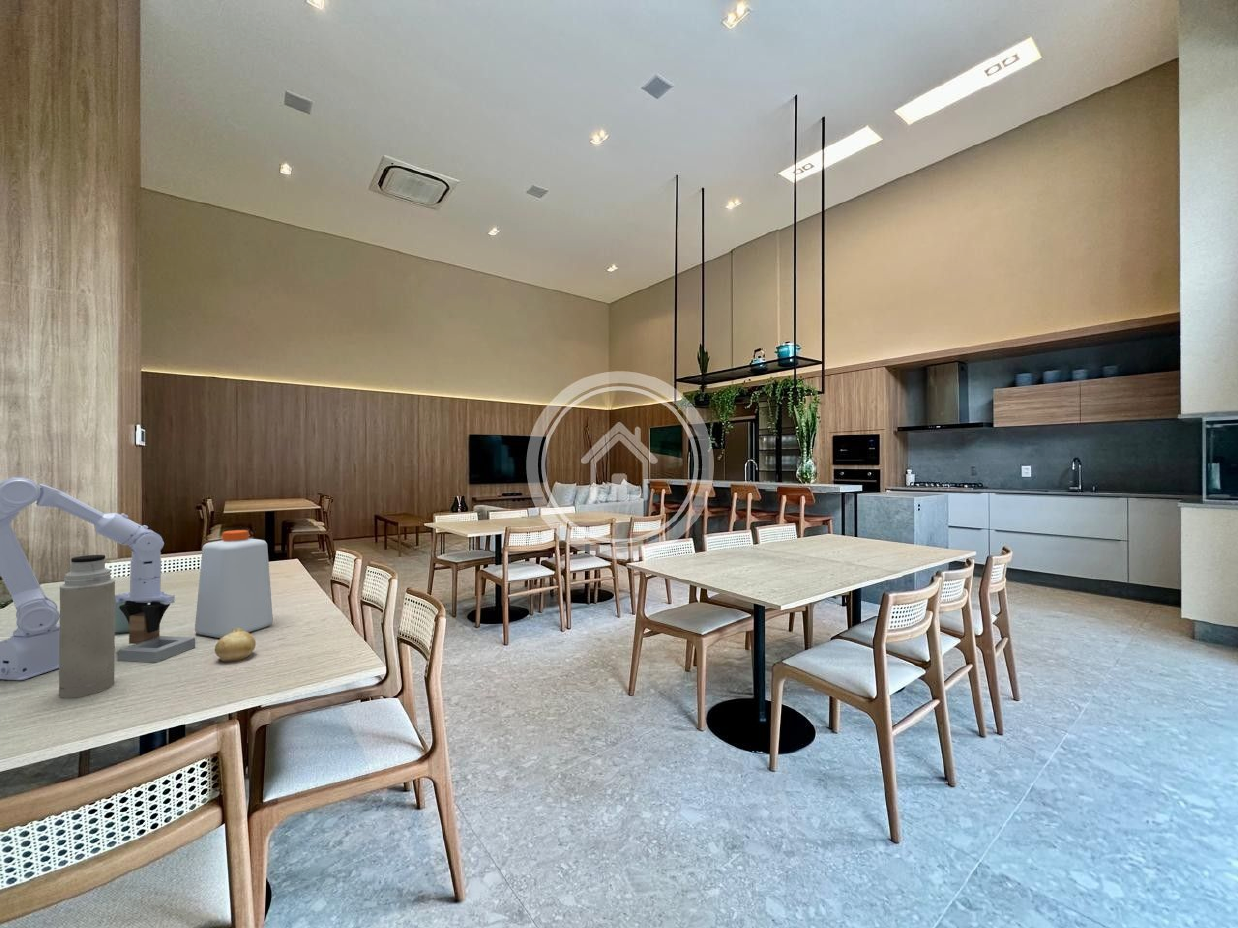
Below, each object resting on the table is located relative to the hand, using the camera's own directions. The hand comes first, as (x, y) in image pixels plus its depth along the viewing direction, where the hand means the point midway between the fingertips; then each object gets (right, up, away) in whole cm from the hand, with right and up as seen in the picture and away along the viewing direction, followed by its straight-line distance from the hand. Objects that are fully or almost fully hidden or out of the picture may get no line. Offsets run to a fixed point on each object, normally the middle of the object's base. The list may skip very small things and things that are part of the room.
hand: (144, 630), depth 128 cm
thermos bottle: (+10, -5, -23) cm, 25 cm away
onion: (+28, -5, -6) cm, 29 cm away
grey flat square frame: (+7, -5, -4) cm, 9 cm away
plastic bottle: (+12, -5, +15) cm, 20 cm away
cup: (-17, -4, +13) cm, 22 cm away
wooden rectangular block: (0, -3, 0) cm, 3 cm away
